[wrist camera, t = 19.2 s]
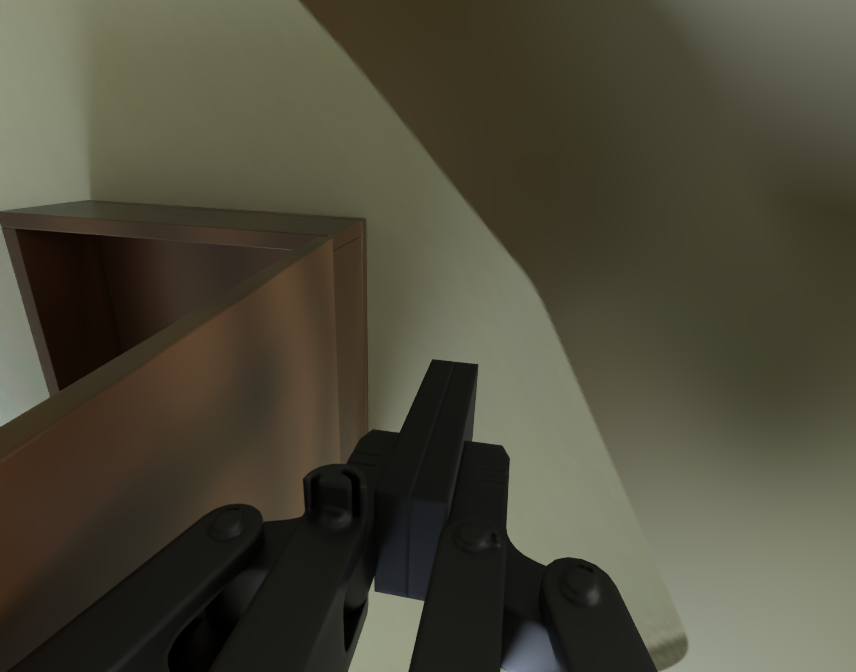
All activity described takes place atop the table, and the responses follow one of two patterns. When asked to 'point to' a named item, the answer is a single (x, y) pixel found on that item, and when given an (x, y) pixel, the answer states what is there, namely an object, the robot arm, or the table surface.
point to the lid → (168, 443)
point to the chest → (170, 281)
